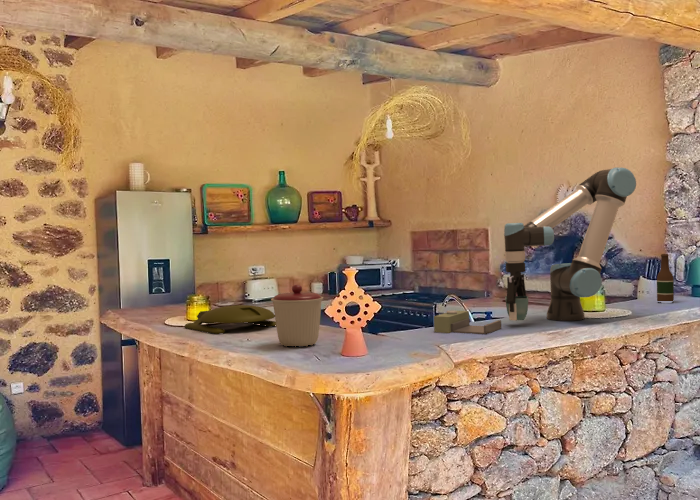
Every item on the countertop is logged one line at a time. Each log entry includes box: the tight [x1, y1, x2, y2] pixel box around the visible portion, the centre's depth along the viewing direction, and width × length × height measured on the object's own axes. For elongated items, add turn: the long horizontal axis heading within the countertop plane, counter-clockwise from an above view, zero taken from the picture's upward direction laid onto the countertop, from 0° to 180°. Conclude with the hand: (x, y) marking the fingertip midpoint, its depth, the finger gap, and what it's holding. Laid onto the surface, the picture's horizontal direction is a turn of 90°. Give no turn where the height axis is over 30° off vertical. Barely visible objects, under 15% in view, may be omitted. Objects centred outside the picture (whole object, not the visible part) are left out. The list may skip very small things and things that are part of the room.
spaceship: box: [184, 304, 276, 335], centre depth 292 cm, size 35×31×10 cm
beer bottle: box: [656, 253, 675, 301], centre depth 342 cm, size 8×8×24 cm
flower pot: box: [504, 295, 530, 321], centre depth 277 cm, size 9×9×9 cm
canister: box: [270, 284, 324, 348], centre depth 243 cm, size 18×18×21 cm
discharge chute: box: [451, 318, 502, 335], centre depth 267 cm, size 14×16×3 cm
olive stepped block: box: [433, 310, 470, 334], centre depth 273 cm, size 6×20×7 cm, turn 148°
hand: (517, 318), depth 277 cm, fingers closed on flower pot, 10 cm apart
